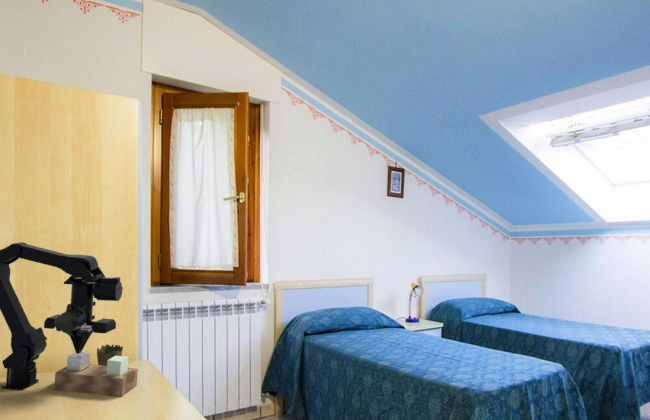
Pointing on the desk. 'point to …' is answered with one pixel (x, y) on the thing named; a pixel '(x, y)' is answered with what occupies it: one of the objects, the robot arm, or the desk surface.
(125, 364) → the sage peg
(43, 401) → the desk surface
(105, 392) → the walnut bar
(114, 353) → the cup
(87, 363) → the steel peg
